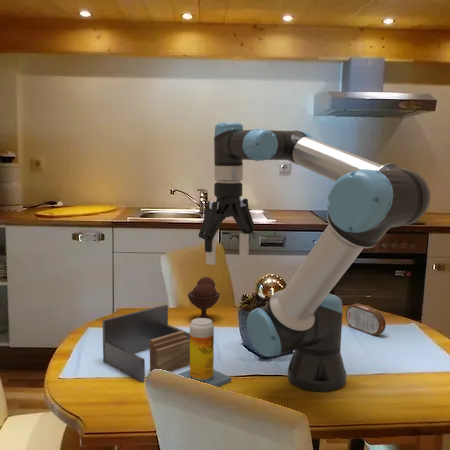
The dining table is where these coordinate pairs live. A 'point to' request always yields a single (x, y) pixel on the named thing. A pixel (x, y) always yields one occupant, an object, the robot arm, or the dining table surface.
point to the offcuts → (170, 352)
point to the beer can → (201, 349)
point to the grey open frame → (134, 338)
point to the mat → (212, 378)
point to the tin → (365, 319)
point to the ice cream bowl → (204, 295)
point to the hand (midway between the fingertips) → (227, 260)
